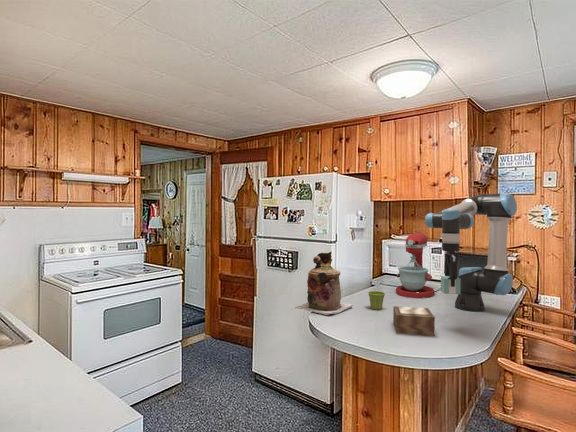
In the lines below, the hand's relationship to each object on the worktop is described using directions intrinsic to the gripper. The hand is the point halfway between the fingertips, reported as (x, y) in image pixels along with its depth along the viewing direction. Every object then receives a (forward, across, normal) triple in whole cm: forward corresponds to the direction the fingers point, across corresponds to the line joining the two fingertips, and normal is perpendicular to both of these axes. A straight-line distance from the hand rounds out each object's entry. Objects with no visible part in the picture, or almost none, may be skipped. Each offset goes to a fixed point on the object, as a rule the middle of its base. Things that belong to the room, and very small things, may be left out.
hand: (450, 291), depth 173 cm
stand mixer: (+18, -75, -5) cm, 77 cm away
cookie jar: (+17, -22, -61) cm, 67 cm away
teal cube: (0, 0, 0) cm, 0 cm away
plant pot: (+17, -29, -32) cm, 47 cm away
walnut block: (+17, +5, -17) cm, 25 cm away
